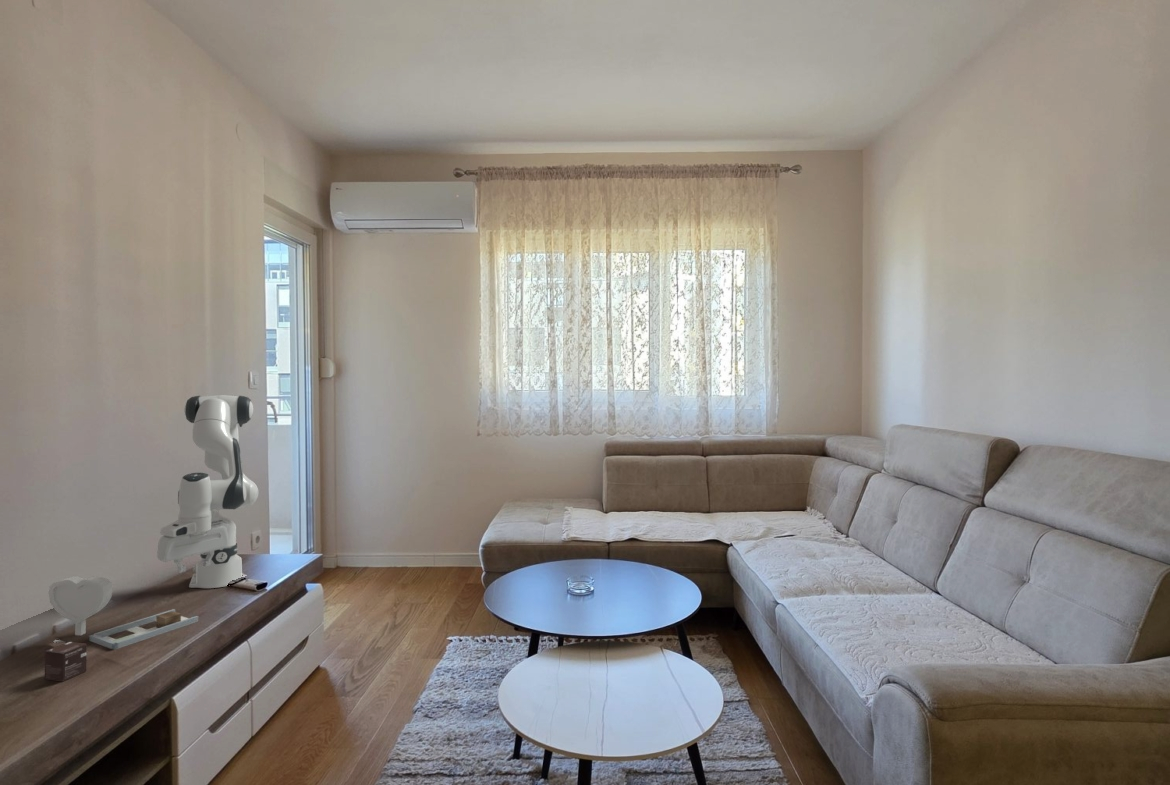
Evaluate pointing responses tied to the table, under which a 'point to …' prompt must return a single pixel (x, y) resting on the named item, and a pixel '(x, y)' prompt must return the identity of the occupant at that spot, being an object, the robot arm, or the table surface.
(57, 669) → the box
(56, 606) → the heart sculpture
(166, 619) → the walnut block
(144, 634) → the track
